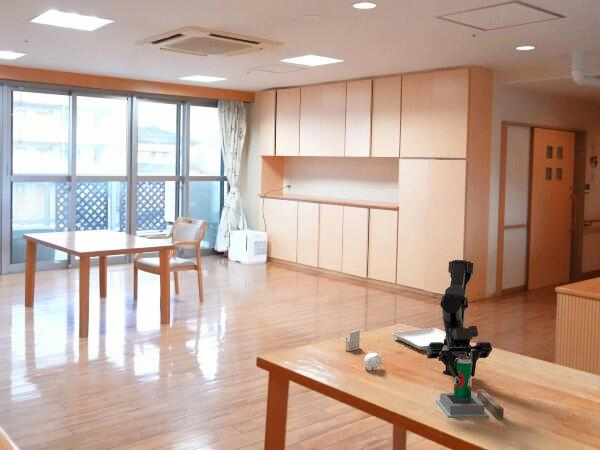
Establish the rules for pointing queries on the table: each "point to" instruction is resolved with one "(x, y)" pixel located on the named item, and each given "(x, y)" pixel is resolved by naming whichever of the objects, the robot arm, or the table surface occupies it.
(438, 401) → the socket
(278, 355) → the table surface
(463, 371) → the soda can
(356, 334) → the architectural model
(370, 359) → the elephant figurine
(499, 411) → the long brown rectangular bar
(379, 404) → the table surface
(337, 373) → the table surface
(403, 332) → the salad plate
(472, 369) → the robot arm
